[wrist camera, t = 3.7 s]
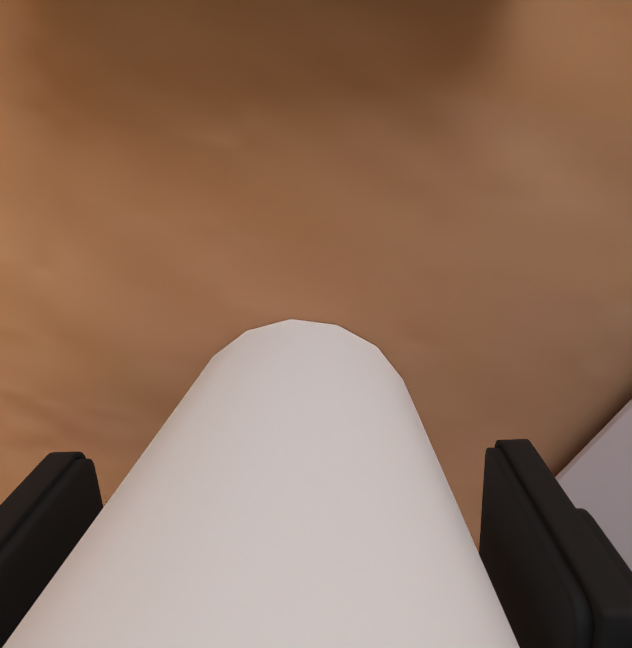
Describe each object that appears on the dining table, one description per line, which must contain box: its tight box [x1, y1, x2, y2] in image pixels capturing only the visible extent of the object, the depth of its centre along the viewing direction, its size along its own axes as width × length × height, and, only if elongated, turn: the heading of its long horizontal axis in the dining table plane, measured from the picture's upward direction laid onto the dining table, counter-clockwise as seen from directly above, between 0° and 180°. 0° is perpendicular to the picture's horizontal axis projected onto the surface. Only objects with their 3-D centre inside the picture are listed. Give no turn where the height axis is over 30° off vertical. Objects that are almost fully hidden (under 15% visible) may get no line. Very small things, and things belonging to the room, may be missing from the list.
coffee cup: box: [2, 319, 520, 648], centre depth 9 cm, size 7×7×10 cm
